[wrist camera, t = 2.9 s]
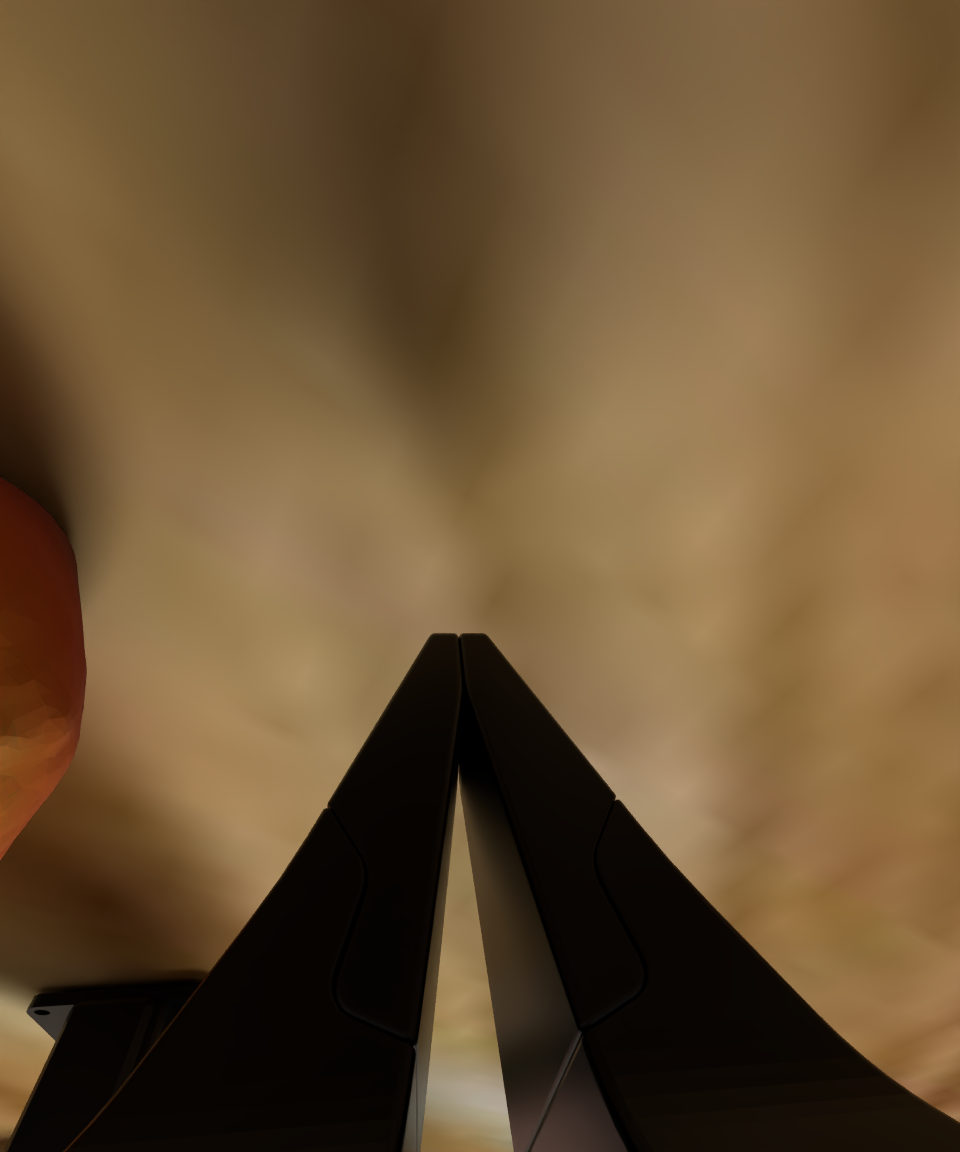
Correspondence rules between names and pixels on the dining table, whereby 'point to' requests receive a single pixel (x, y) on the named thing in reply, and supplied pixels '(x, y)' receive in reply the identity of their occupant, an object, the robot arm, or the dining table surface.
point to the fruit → (36, 658)
